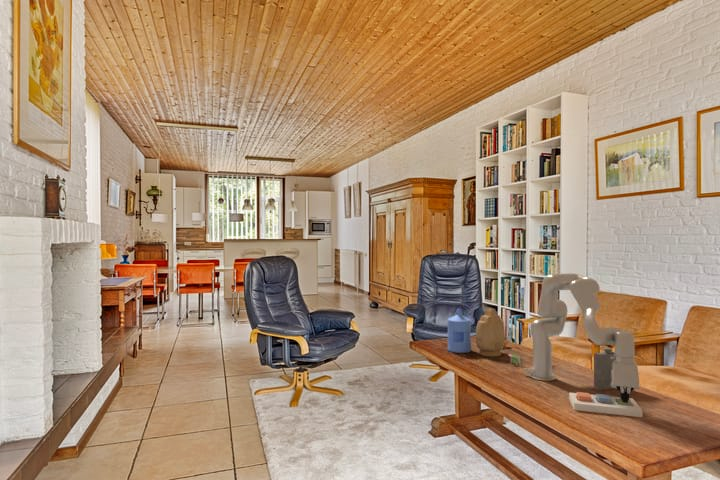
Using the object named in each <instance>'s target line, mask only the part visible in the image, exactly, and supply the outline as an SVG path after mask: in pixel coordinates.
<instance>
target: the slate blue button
mask: <svg viewBox="0 0 720 480" xmlns="http://www.w3.org/2000/svg"><path fill="white" fill-rule="evenodd" d="M595 395H596V400H597V402H598V403H607V404H612V399H611V397H612V396H611V397H610V394H605V393H604V394H602V393H595Z"/></svg>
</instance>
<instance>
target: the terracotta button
mask: <svg viewBox="0 0 720 480" xmlns="http://www.w3.org/2000/svg"><path fill="white" fill-rule="evenodd" d="M576 393H577V400H578V401H587V402H591V395H592V394H591V395H590V393H589V392H581V391H576Z"/></svg>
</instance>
